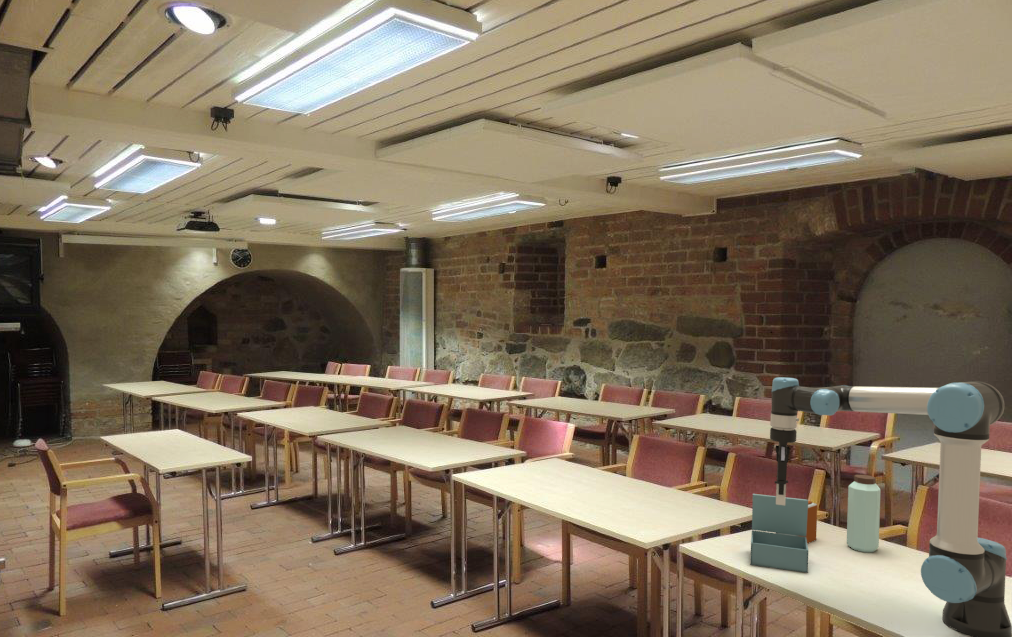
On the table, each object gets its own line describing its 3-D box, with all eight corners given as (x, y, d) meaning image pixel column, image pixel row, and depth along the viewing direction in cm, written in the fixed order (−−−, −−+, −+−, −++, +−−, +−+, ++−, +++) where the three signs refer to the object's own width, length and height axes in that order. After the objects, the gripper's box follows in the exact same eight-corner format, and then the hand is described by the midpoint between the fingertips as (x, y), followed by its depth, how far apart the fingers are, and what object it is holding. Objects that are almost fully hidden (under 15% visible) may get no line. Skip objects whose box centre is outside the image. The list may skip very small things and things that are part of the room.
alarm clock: (795, 533, 258) (796, 496, 258) (818, 539, 252) (819, 502, 252) (774, 541, 249) (775, 503, 249) (797, 547, 242) (798, 508, 242)
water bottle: (839, 545, 246) (842, 474, 245) (859, 542, 250) (861, 472, 249) (865, 555, 237) (867, 481, 236) (885, 551, 241) (887, 478, 240)
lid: (808, 500, 227) (808, 499, 228) (752, 494, 233) (752, 493, 234) (806, 536, 232) (806, 535, 233) (751, 529, 238) (751, 528, 238)
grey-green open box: (807, 572, 219) (808, 550, 219) (750, 564, 225) (750, 542, 225) (805, 558, 232) (806, 537, 232) (751, 550, 238) (751, 530, 238)
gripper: (797, 432, 207) (794, 511, 208) (795, 425, 220) (792, 500, 220) (770, 430, 210) (767, 508, 211) (770, 423, 222) (767, 497, 223)
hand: (780, 504), depth 215 cm, fingers closed
